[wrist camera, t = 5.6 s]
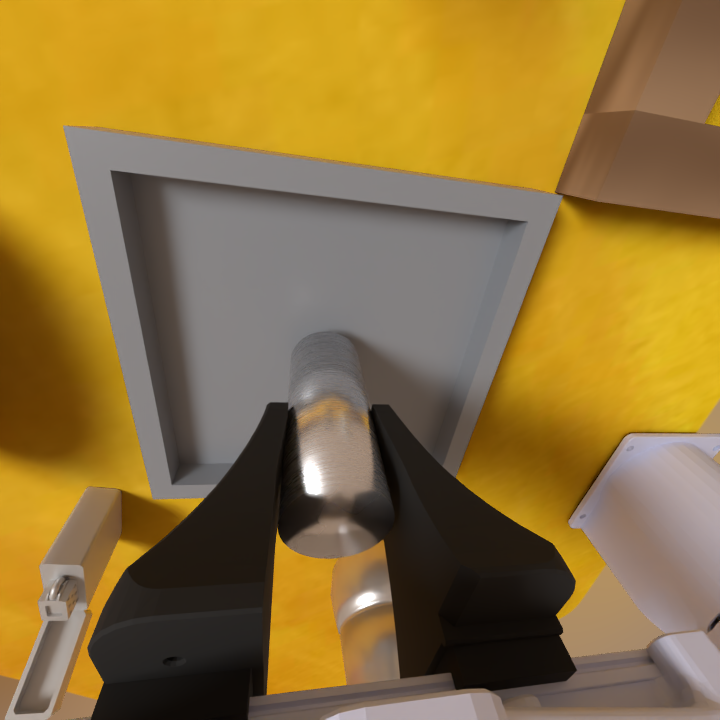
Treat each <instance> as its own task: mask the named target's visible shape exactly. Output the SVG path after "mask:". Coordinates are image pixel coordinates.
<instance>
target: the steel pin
mask: <svg viewBox="0 0 720 720" xmlns="http://www.w3.org/2000/svg"><path fill="white" fill-rule="evenodd" d="M287 402H288V423H287V434H286V441H285V448H284V455H283V465H282V479H281V492H280V505H279V518H278V533H279V535H280V538H281V539H282V541H283V542H284V543H285V544H286V545H287V546H288V547H289V548H290V549H292V550H294V551H295V552H298V553H300V554H303V555H306V556H310V557H315V558H326V559H327V558H341V557H347V556H351V555H355V554H358V553H361V552H363V551H366V550H368V549H370V548H372V547H373V546H375V545H376V544H378V543H379V542H381V541H382V540H383V539H384V538H385V537H386V536H387V535H388V533H389V532H390V530H391V529H392V527H393V524H394V519H395V514H394V509H393V504H392V500H391V496H390V492H389V487H388V483H387V479H386V474H385V470H384V466H383V461H382V457H381V453H380V448H379V444H378V440H377V435H376V431H375V427H374V422H373V418H372V414H371V409H370V405H369V401H368V396H367V392H366V388H365V383H364V379H363V375H362V370H361V366H360V362H359V357H358V353H357V350H356V348H355V347H354V345H353V344H352V343H351V341H349V340H348V339H347V338H346V337H344V336H342V335H340V334H337V333H334V332H317V333H313V334H310V335H308V336H306V337H304V338H303V339H302V340H300V341H299V342H298V343H297V345H296V346H295V347H294V349H293V351H292V354H291V359H290V372H289V385H288V399H287Z"/></svg>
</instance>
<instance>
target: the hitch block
mask: <svg viewBox="0 0 720 720" xmlns="http://www.w3.org/2000/svg"><path fill="white" fill-rule="evenodd" d="M719 94H720V0H626V2H625V4H624V7H623V10H622V13H621V15H620V18H619V21H618V23H617V26H616V29H615V31H614V34H613V37H612V40H611V42H610V45H609V48H608V50H607V53H606V56H605V58H604V61H603V64H602V67H601V69H600V72H599V75H598V77H597V80H596V83H595V86H594V88H593V91H592V94H591V96H590V99H589V102H588V104H587V107H586V110H585V113H584V115H583V118H582V121H581V123H580V126H579V129H578V131H577V134H576V137H575V140H574V142H573V145H572V148H571V150H570V153H569V156H568V158H567V161H566V164H565V167H564V169H563V172H562V175H561V177H560V180H559V183H558V186H557V188H556V191H555V192H558V193H562V194H566V195H571V196H575V197H580V198H584V199H588V200H593V201H598V202H605V203H612V204H619V205H626V206H634V207H641V208H648V209H655V210H662V211H669V212H677V213H684V214H691V215H698V216H705V217H712V218H719V219H720V127H719V126H713V125H708V124H704V123H705V121H706V119H707V117H708V115H709V113H710V111H711V109H712V108H713V106H714V104H715V102H716V100H717V98H718V96H719Z"/></svg>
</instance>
